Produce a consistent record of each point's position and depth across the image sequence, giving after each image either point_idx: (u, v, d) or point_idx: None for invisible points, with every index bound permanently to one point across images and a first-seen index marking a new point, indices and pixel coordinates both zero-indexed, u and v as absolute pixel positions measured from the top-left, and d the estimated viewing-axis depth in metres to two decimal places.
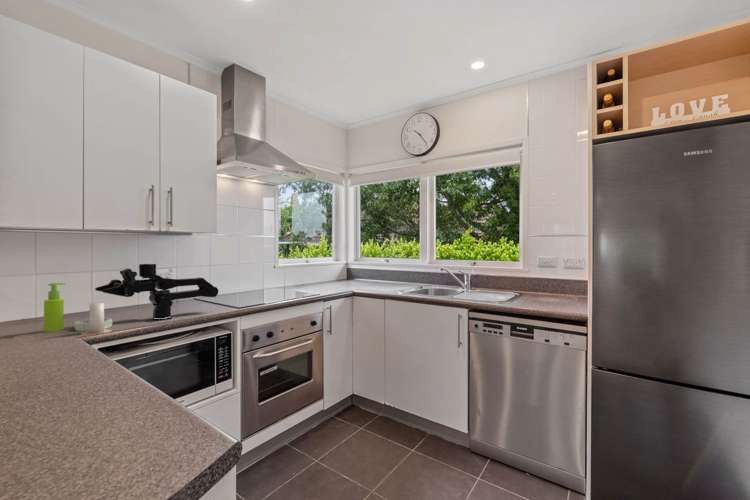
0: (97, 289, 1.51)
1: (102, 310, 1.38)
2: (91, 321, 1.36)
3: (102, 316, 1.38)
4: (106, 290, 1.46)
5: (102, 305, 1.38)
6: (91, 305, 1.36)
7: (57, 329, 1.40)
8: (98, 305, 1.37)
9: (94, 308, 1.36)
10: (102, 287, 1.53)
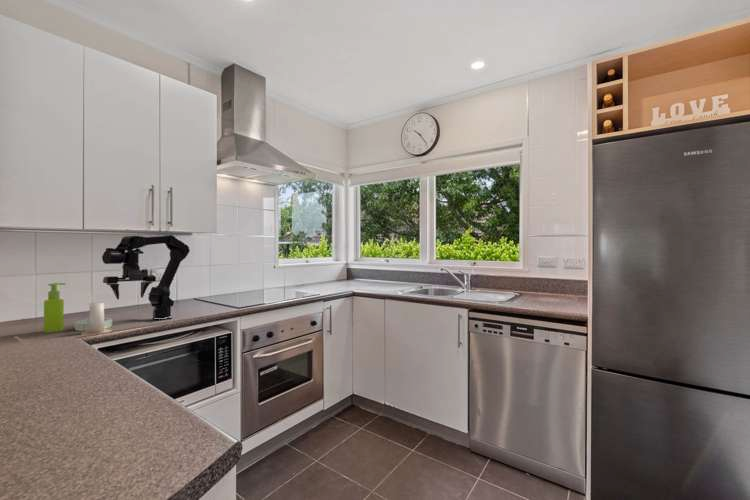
0: None
1: (102, 310, 1.38)
2: (91, 321, 1.36)
3: (102, 316, 1.38)
4: None
5: (102, 305, 1.38)
6: (91, 305, 1.36)
7: (57, 329, 1.40)
8: (98, 305, 1.37)
9: (94, 308, 1.36)
10: None
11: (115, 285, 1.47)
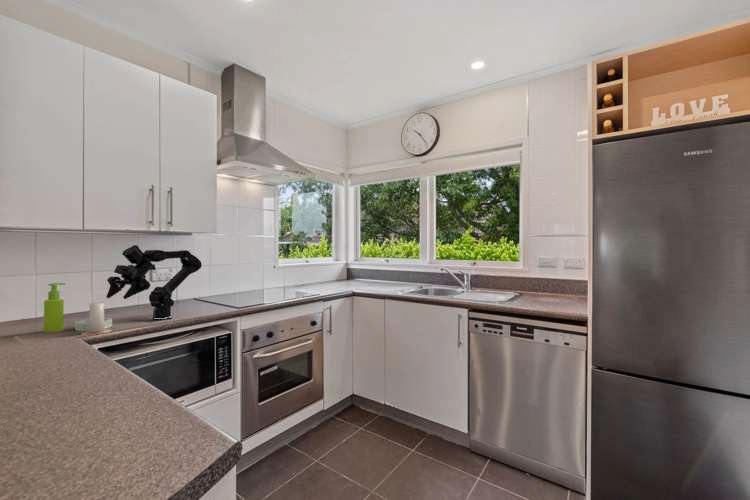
0: (109, 296, 1.48)
1: (102, 310, 1.38)
2: (91, 321, 1.36)
3: (102, 316, 1.38)
4: (126, 296, 1.45)
5: (102, 305, 1.38)
6: (91, 305, 1.36)
7: (57, 329, 1.40)
8: (98, 305, 1.37)
9: (94, 308, 1.36)
10: (110, 292, 1.49)
11: (110, 282, 1.50)
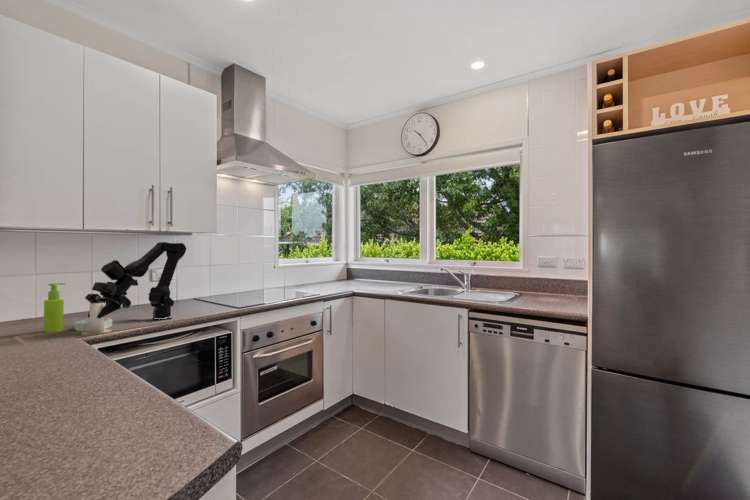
0: None
1: None
2: (91, 321, 1.36)
3: None
4: (100, 315, 1.37)
5: (102, 305, 1.38)
6: (91, 305, 1.36)
7: (57, 329, 1.40)
8: (98, 305, 1.37)
9: (94, 308, 1.36)
10: None
11: (92, 300, 1.41)
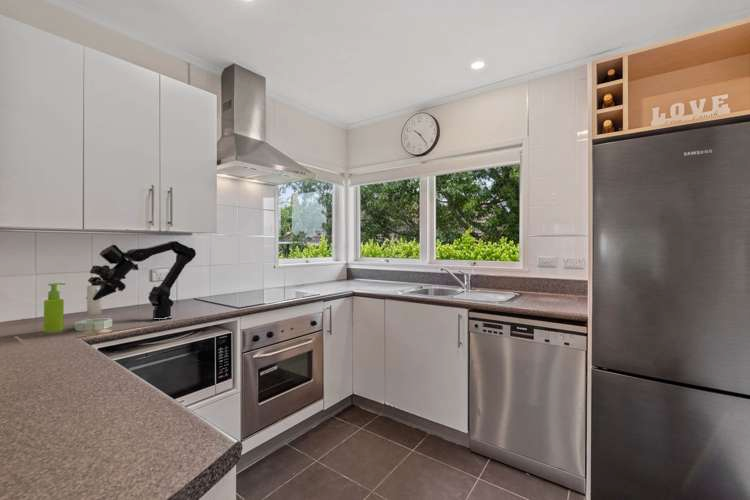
0: None
1: None
2: (88, 303, 1.41)
3: None
4: (96, 297, 1.41)
5: (98, 288, 1.42)
6: (87, 287, 1.41)
7: (57, 329, 1.40)
8: (94, 287, 1.41)
9: (90, 290, 1.41)
10: None
11: (92, 283, 1.46)
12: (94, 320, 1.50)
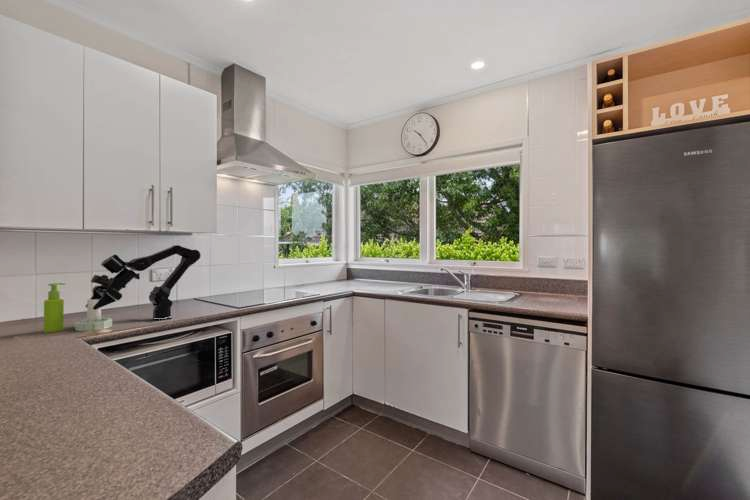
0: None
1: None
2: (87, 316, 1.45)
3: (97, 312, 1.46)
4: (95, 306, 1.43)
5: (97, 301, 1.46)
6: (87, 301, 1.45)
7: (57, 329, 1.40)
8: (93, 301, 1.45)
9: (89, 304, 1.44)
10: None
11: (92, 291, 1.51)
12: None
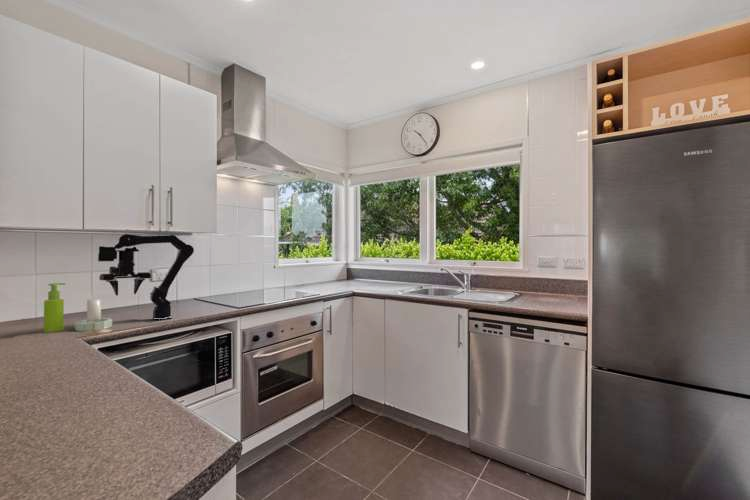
0: (134, 292, 1.62)
1: (97, 306, 1.46)
2: (87, 316, 1.45)
3: (97, 312, 1.46)
4: (115, 293, 1.56)
5: (97, 302, 1.46)
6: (87, 301, 1.45)
7: (57, 329, 1.40)
8: (92, 301, 1.45)
9: (89, 304, 1.44)
10: (134, 288, 1.63)
11: None
12: None
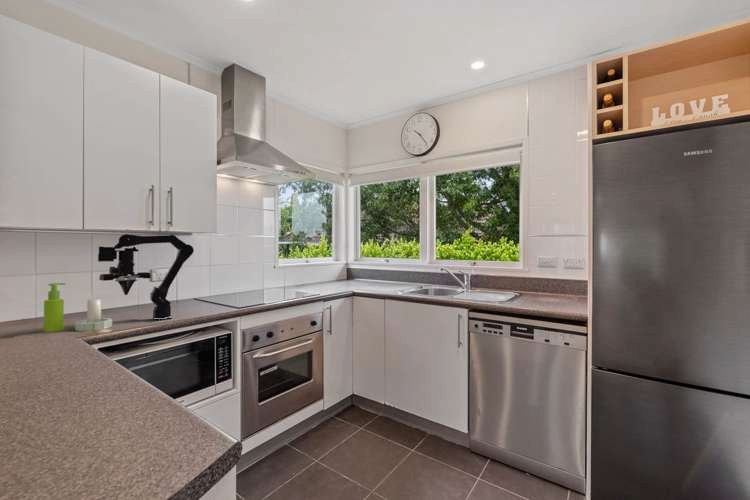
0: None
1: (97, 306, 1.46)
2: (87, 316, 1.45)
3: (97, 312, 1.46)
4: (124, 292, 1.59)
5: (97, 302, 1.46)
6: (87, 301, 1.45)
7: (57, 329, 1.40)
8: (93, 301, 1.45)
9: (89, 304, 1.44)
10: None
11: None
12: None
